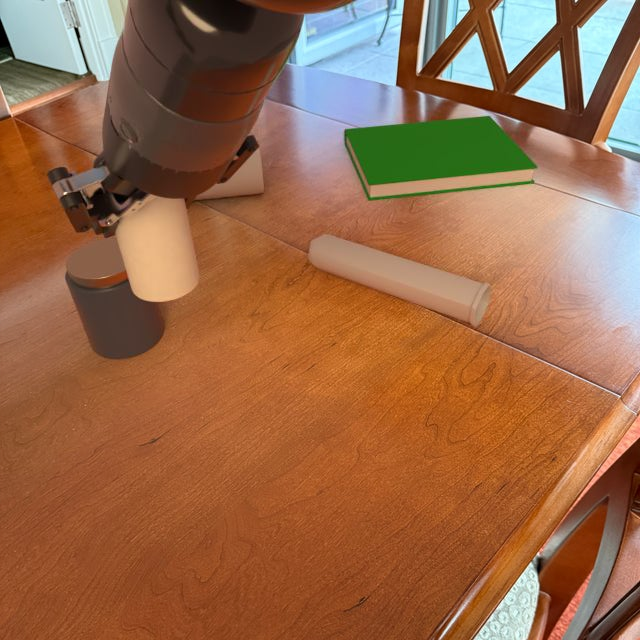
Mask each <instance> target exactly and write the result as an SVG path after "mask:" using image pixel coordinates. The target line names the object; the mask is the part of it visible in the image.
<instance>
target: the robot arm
mask: <svg viewBox="0 0 640 640" xmlns="http://www.w3.org/2000/svg"><path fill="white" fill-rule="evenodd" d="M357 1H358V0H127V5H126V12H125V17H124V23H123V27H122V31H121V33H120V35H119V38H118V40H117V43H116V45H115V47H114V52H113V56H112V60H111V66H110V73H109V80H108V87H107V94H106V98H105V100H106V101H105V107H104V112H103V120H102V127H101V129H102V130H101V135H102V137H101V138H102V139H101V140H102V151H101V152H100V153H99V154H98V155H97V156H96V157H95V158H94V160H93V162H92V163H93V164H92V167H93V168H90V169H88V170H86V171H82V172H80V173H78V171H76V170H72V171H70V172H69V170H68V169H67V167H66V166H59V167H55V168H52V169H51V170H49V171H48V172H47V173H46V177H47V179H48V182H49V183H50V185H51V187H52V189H53V191H54V193H55V195H56V197H57V199H58V201H59V203H60V205H61V207H62V209H63V211H64V213H65V215H66V217H67V218H68V220H69V222H70V224H71V226H72V228H73V230H74V231H75V233H77V234H80V233H87V232H89V231H90V230H91V229H92V230H93V232H94V234H95V235H96V236H100V235H102V236H103V237H104V239H106V238H112V237H114V236H116V234H115V232H116V229H117V226H118V223H119V220H118V219H119V218H121V217H122V216H128V215H133V214H135V213H136V212H137V211H138V210H140V209H141V208H142V207H143V206H144V205H145V204H146V203H147V202H148V201H149V200H152V199H157V198H158V197H162V198H169V199H183V198H184V199H185V204H186V209H187V210H188V209H190V207H191V205H192V203H193V200H194V199H195V198H196V197H197V195H199V194H202V193H204V192H205V191H207V190H209V189H210V188H211V187H213V186H214V185H215V184H216V183H217V184H221V183H222V184H223V183H225V182H227V181H228V180H229V179H230V178H231V177H232V176H233V175H234V174H235V173H236V171H237V170H238V169H239V168H240V167H241V166H242V165H243V164H244V163H245V162H246V161H247V160H248V159H249V157H250V156H251V155H252V154H253V153H254V152H255V151H256V150H257V149H258V148H259V149H260V143H259V141H258V140H257V138H256V136H255V135H254V132H253V128H254V127H255V124H256V123H257V121H258V119H259V116H260V114H261V111H262V108H263V106H264V102H265V99H266V97H268V96H267V95H268V94H269V93H270V91H271V90H272V88H273V86H274V84H276V82H277V80H278V78H279V76H280V75H281V73H282V72H283V70H284V68H285V67H286V65H287V63H288V61H289V60H290V58H291V56H292V54H293V52H294V50H295V49H296V45H297V43H298V41H299V38H300V34H301V31H302V27H303V24H304V21H305V16H306V15H317V14H323V13H328V12H331V11H335V10H338V9H341V8H344V7H346V6H349V5H351V4H353V3H355V2H357ZM257 141H258V142H257ZM258 143H259V144H258ZM194 201H195V200H194Z"/></svg>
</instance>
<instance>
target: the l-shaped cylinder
mask: <svg viewBox="0 0 640 640" xmlns="http://www.w3.org/2000/svg"><path fill="white" fill-rule="evenodd" d="M257 142H258V144H259V145H260V143H259V140H257ZM262 165H263V164H262V157H261V149H260V147H259V148H258V149H257V150H256V151H255V152H254V153H253V154H252V155H251V156H250V157H249V159H248V160H247V161H246V162H245V163H244V164H243V165H242V166H241V167H240V168H239V169H238V170H237V171H236V173H235V174H234V175H233V176H232V177H231V178H230V179H229V180H228V181H227V182H225V183H223V184H222V183H221V184H217V183H216V184H215V185H214V186H213V187H211V188H210V189H209V190H207V191H205V192H204V193H202V194H199V195H197V197H196V198H195V199H194V200H193V201H194V202H195V201H202V200H212V199H221V198H231V197H240V196H241V197H242V196H251V195H259V194H260V195H261V194H265V182H264V174H263V166H262ZM193 201H192V202H193Z"/></svg>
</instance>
